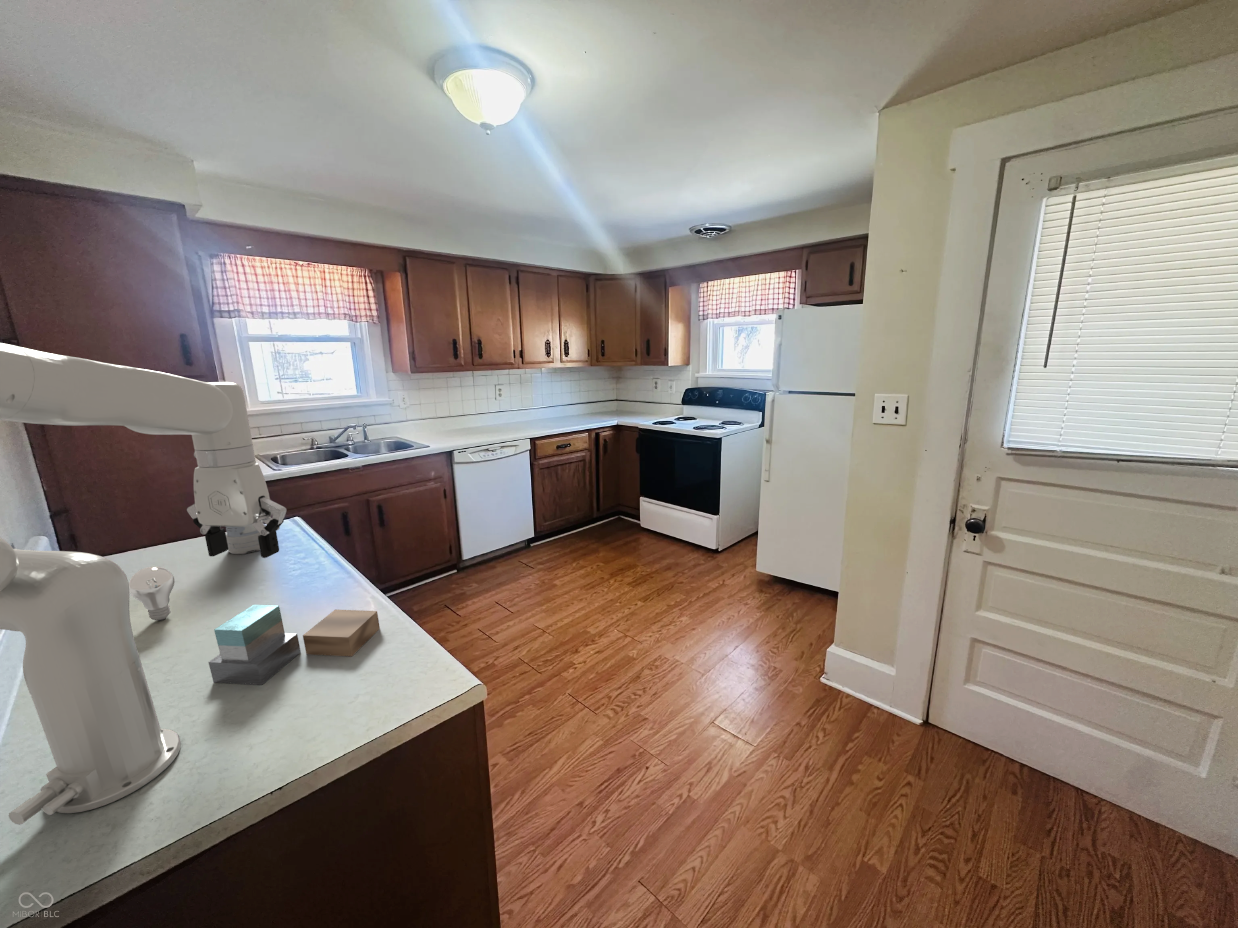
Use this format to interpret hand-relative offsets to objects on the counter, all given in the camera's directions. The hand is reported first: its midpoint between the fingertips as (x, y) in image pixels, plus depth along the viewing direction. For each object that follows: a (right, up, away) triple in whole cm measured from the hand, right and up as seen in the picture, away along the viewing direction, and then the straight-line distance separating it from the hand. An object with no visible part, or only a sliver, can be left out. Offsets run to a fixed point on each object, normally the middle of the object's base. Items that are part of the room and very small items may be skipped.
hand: (244, 553), depth 84 cm
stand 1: (0, -21, +3) cm, 21 cm away
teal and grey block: (0, -17, +2) cm, 17 cm away
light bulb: (-32, -18, +19) cm, 41 cm away
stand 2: (+12, -19, +10) cm, 24 cm away
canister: (-42, -9, +56) cm, 70 cm away
